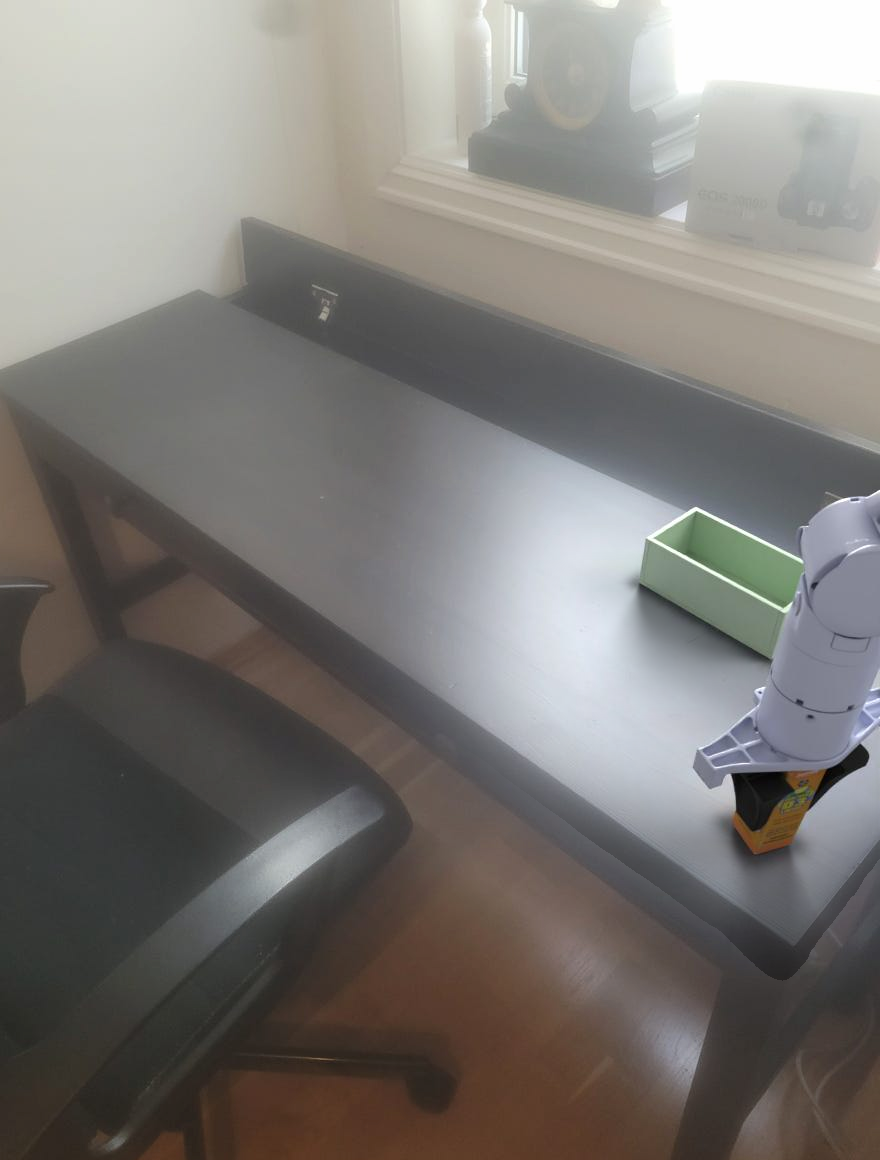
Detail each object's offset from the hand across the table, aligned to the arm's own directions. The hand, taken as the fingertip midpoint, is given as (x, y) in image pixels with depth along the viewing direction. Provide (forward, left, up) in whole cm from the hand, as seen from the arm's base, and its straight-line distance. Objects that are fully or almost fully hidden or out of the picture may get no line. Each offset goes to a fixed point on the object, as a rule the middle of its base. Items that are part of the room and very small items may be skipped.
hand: (771, 811), depth 65 cm
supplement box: (0, 0, -3) cm, 3 cm away
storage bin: (+24, -13, -3) cm, 27 cm away
